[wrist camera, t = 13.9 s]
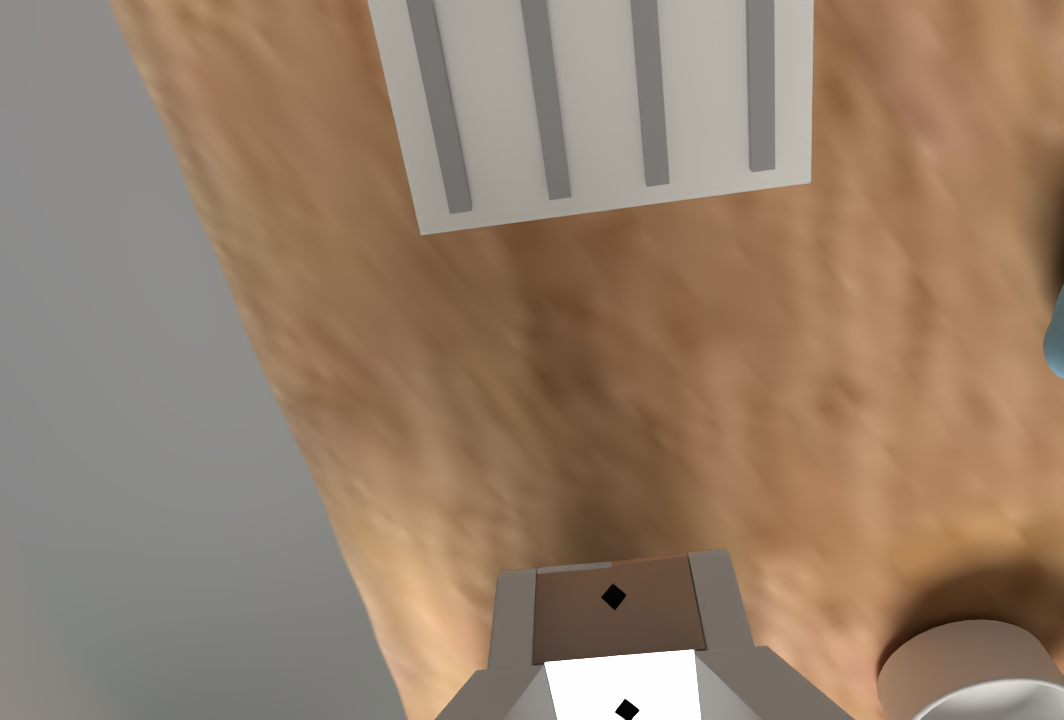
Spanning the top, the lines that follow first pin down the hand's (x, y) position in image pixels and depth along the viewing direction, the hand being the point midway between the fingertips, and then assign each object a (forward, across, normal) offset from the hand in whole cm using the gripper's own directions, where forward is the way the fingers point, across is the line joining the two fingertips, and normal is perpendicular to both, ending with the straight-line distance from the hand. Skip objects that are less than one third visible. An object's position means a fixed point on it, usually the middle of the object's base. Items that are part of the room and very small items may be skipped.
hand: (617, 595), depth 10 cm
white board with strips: (+29, -1, -6) cm, 30 cm away
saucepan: (+29, -19, +42) cm, 55 cm away
